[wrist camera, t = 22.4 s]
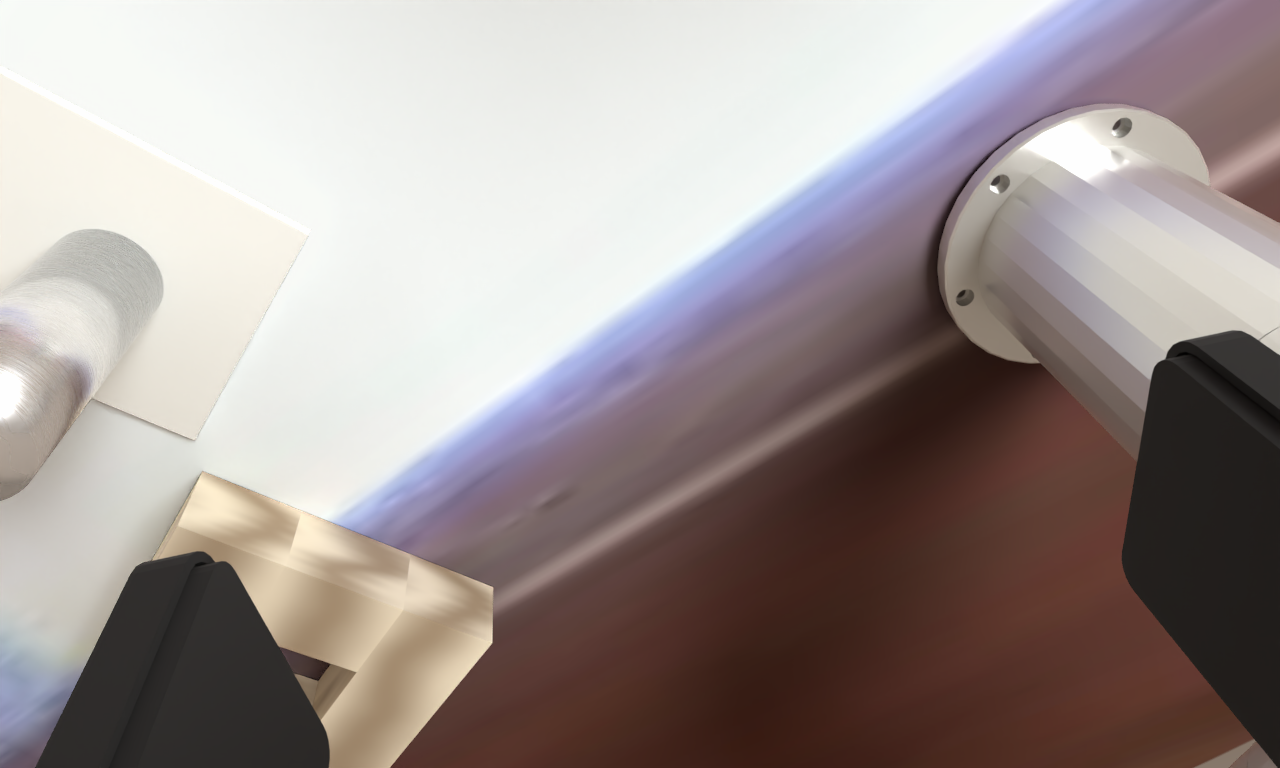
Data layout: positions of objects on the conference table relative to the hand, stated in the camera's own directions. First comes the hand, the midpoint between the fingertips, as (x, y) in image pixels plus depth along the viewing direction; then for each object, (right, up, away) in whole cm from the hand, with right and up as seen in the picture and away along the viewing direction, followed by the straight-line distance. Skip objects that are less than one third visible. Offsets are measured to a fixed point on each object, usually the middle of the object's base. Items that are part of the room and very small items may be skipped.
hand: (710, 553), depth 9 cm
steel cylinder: (-23, +6, +28) cm, 37 cm away
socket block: (-20, -12, +40) cm, 47 cm away
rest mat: (-23, +6, +29) cm, 37 cm away
